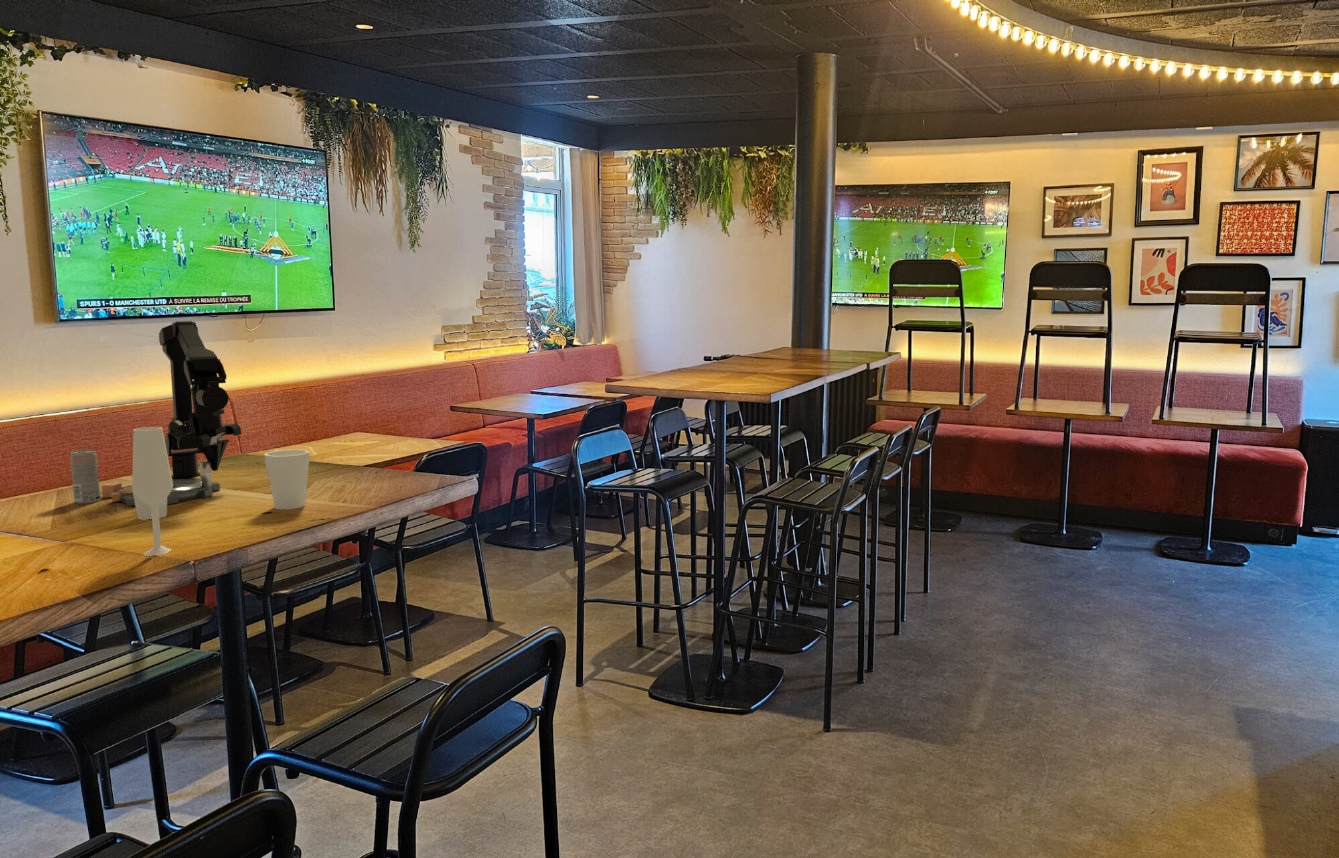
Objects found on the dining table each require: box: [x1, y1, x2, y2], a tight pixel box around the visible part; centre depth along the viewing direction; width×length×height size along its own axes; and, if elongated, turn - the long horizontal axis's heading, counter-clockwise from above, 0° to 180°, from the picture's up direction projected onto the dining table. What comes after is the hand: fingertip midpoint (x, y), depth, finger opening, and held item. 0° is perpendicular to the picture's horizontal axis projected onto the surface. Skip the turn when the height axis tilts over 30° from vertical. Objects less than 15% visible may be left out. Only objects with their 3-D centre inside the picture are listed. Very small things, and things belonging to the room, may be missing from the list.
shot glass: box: [132, 490, 168, 521], centre depth 211 cm, size 7×7×7 cm
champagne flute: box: [131, 426, 173, 556], centre depth 179 cm, size 7×7×24 cm
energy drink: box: [69, 449, 102, 505], centre depth 228 cm, size 5×5×12 cm
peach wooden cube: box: [100, 482, 123, 498], centre depth 234 cm, size 3×3×3 cm
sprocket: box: [111, 460, 221, 506], centre depth 232 cm, size 23×23×8 cm
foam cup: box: [264, 448, 310, 510], centre depth 218 cm, size 10×9×13 cm
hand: (214, 470), depth 235 cm, fingers closed
